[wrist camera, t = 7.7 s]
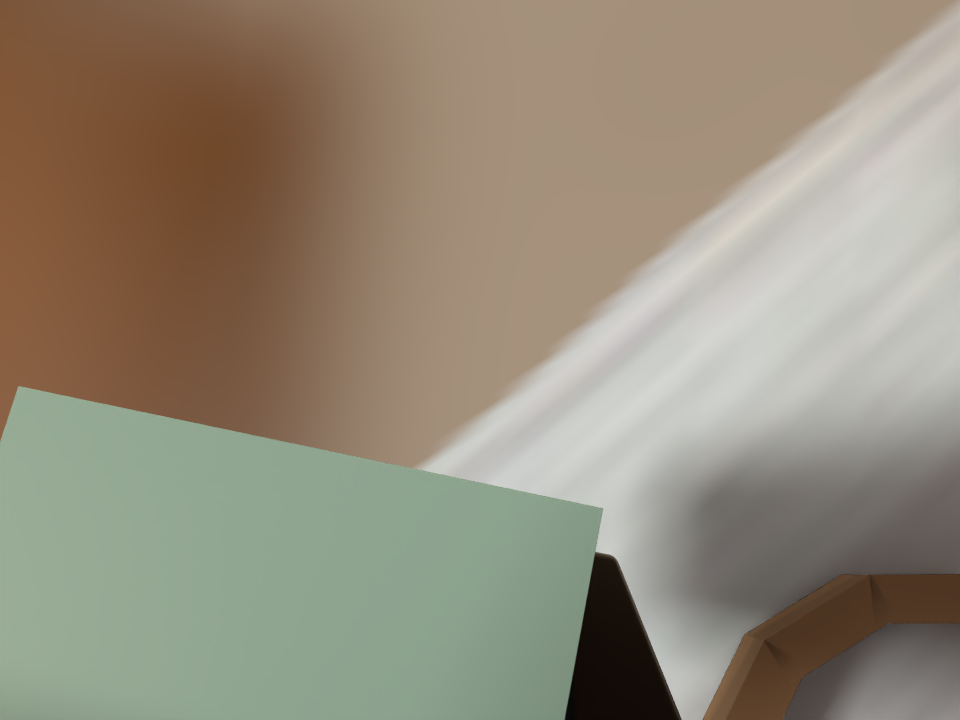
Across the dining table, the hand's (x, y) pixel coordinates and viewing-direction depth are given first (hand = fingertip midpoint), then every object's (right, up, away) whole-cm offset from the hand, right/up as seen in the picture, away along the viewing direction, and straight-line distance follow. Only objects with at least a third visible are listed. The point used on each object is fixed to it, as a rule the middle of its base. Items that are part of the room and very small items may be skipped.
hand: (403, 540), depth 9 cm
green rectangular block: (0, -3, +6) cm, 7 cm away
